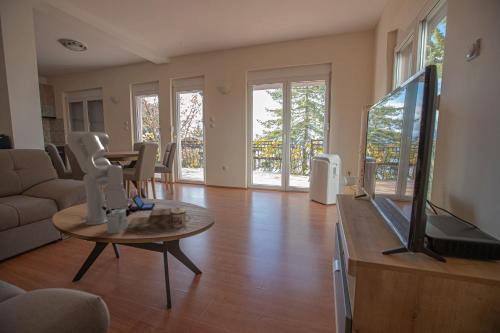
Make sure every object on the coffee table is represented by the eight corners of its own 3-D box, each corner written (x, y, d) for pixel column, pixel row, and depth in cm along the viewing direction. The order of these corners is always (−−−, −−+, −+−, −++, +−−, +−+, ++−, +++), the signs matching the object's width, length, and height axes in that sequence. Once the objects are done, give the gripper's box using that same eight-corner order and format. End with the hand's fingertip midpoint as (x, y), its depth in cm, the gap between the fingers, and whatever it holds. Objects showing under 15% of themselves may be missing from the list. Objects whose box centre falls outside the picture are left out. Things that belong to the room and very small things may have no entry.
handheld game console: (152, 210, 174) (151, 198, 173) (132, 211, 171) (131, 199, 170) (155, 204, 189) (154, 193, 188) (137, 205, 186) (136, 194, 185)
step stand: (126, 235, 127) (126, 219, 126) (133, 225, 143) (132, 210, 142) (169, 232, 133) (169, 216, 132) (171, 222, 149) (171, 208, 148)
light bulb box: (116, 226, 141) (115, 208, 140) (128, 226, 141) (127, 208, 140) (107, 233, 130) (105, 214, 129) (119, 233, 131) (118, 214, 130)
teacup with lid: (168, 227, 140) (167, 208, 139) (174, 222, 149) (174, 204, 148) (187, 228, 139) (187, 209, 137) (193, 223, 148) (192, 205, 146)
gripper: (96, 189, 127) (98, 220, 129) (131, 187, 132) (133, 217, 133) (101, 187, 134) (103, 216, 136) (134, 185, 139) (136, 213, 140)
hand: (118, 216), depth 134 cm, fingers open, 9 cm apart
